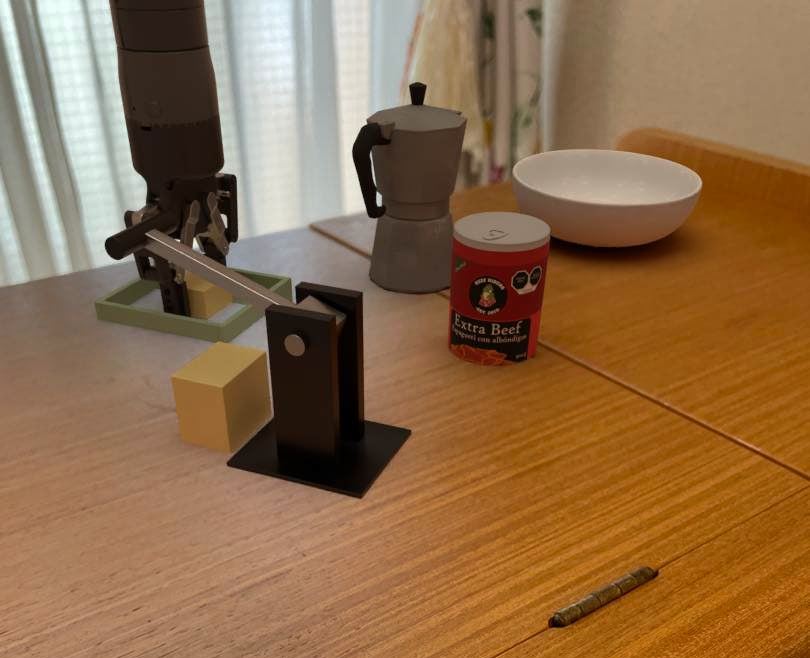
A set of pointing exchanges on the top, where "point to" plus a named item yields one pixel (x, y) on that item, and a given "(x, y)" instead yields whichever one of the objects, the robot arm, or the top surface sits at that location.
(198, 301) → the butter pat
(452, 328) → the canned food
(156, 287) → the dish
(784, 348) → the top surface
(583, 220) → the serving bowl
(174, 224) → the lever
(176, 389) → the butter
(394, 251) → the coffeepot
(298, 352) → the lever stand
